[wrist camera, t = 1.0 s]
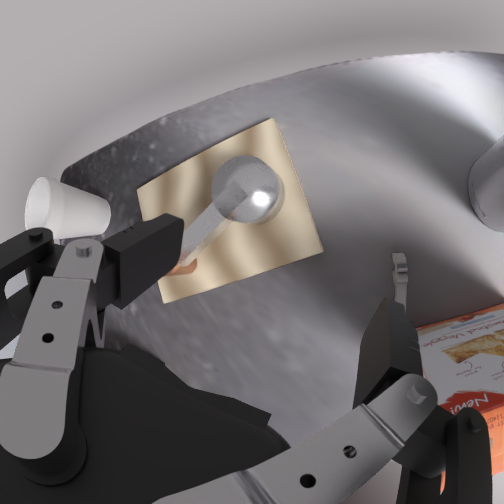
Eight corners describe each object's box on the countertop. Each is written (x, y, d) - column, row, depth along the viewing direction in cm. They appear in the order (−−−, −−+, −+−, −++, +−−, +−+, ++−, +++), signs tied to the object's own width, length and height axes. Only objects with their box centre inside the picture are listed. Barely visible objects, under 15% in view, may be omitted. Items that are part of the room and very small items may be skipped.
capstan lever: (258, 153, 34) (202, 108, 22) (297, 195, 32) (255, 162, 20) (164, 250, 39) (88, 249, 27) (193, 293, 37) (119, 308, 25)
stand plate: (276, 122, 35) (272, 117, 34) (324, 251, 33) (322, 251, 31) (143, 191, 43) (135, 189, 41) (170, 302, 41) (163, 303, 39)
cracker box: (508, 296, 24) (621, 337, 5) (509, 344, 24) (603, 419, 5) (403, 325, 30) (444, 422, 10) (408, 374, 29) (434, 500, 10)
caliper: (390, 253, 31) (396, 253, 25) (400, 252, 30) (407, 252, 24) (384, 418, 30) (384, 446, 24) (392, 418, 30) (394, 446, 24)
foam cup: (79, 213, 49) (21, 207, 37) (104, 178, 46) (43, 164, 34) (95, 254, 47) (32, 254, 35) (124, 219, 44) (56, 211, 32)
